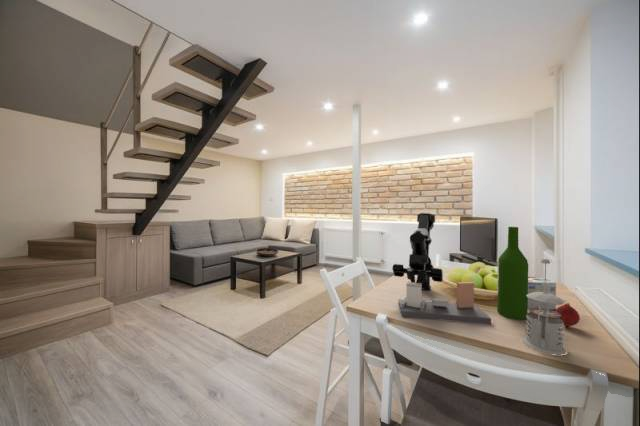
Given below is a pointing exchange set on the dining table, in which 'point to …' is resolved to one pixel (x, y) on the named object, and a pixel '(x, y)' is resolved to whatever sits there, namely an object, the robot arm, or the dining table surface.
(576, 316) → the onion
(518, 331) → the dining table surface
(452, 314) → the control console
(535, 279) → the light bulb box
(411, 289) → the slider button
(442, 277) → the robot arm
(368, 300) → the dining table surface
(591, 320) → the dining table surface
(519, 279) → the wine bottle
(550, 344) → the french press
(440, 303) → the rocker switch
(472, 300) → the tan rectangular board
